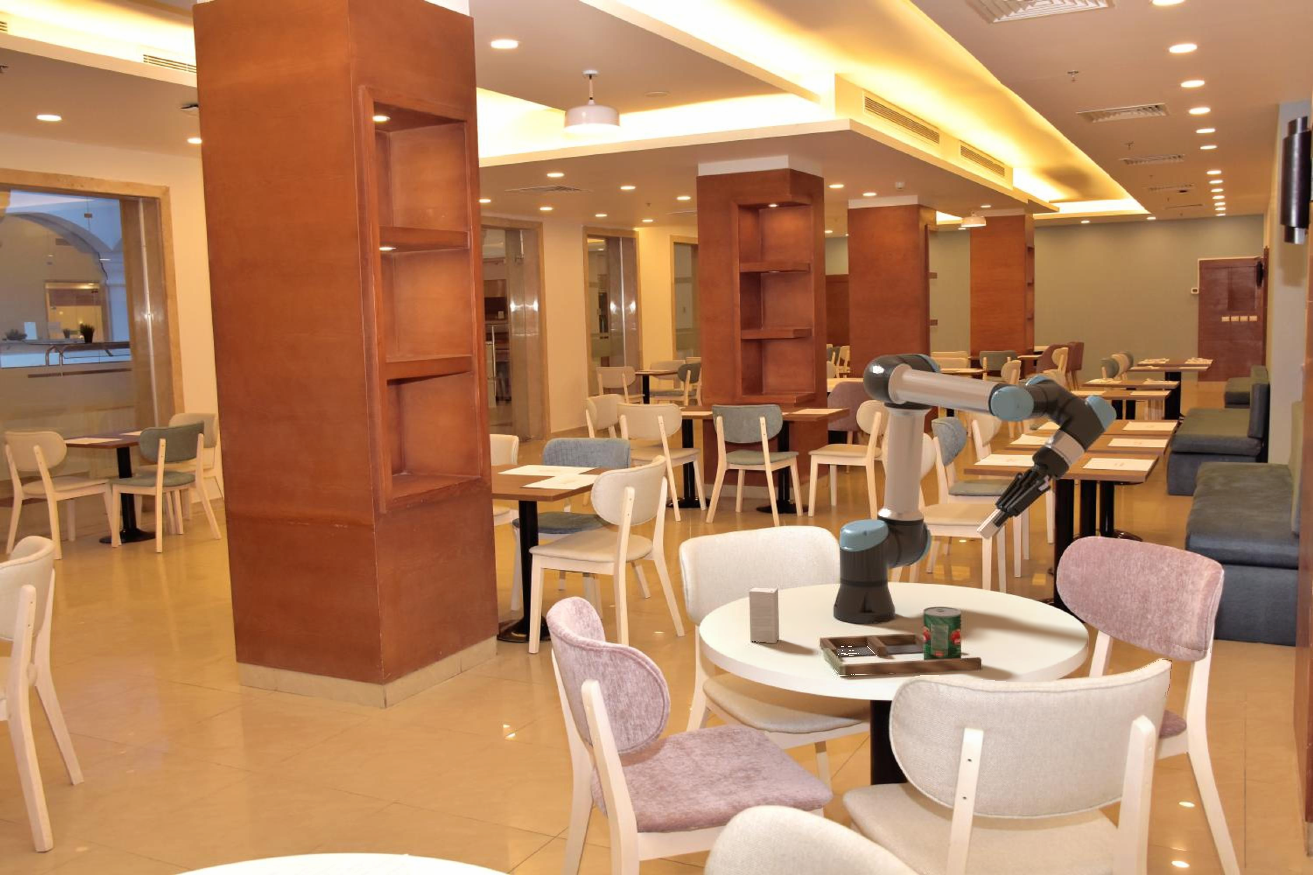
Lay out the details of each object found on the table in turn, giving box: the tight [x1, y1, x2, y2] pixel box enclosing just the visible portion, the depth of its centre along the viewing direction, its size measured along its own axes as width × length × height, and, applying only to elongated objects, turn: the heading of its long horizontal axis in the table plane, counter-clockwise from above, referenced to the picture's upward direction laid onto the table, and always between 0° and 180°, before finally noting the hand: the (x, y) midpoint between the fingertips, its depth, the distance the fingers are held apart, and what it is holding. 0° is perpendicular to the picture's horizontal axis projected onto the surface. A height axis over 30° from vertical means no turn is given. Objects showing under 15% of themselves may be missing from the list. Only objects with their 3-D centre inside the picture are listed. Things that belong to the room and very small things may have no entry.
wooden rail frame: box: [819, 632, 982, 675], centre depth 242 cm, size 30×22×2 cm
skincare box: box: [748, 587, 780, 644], centre depth 257 cm, size 6×4×12 cm
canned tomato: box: [922, 606, 962, 660], centre depth 238 cm, size 8×8×11 cm
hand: (982, 534), depth 242 cm, fingers closed
